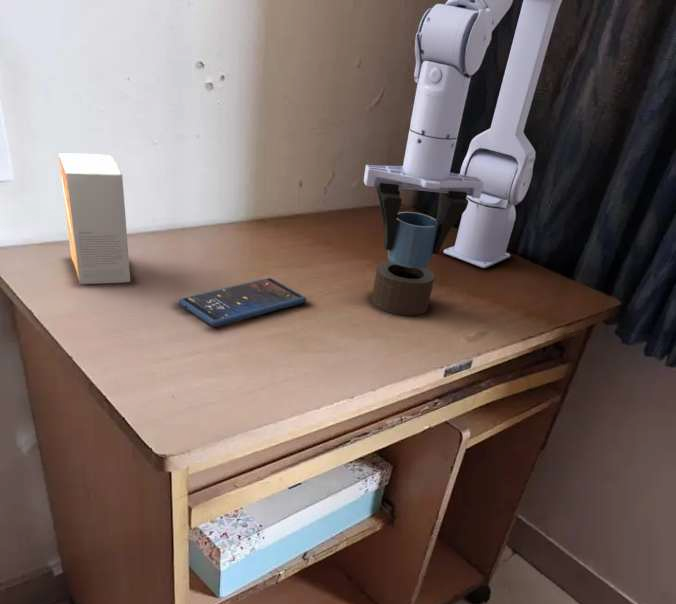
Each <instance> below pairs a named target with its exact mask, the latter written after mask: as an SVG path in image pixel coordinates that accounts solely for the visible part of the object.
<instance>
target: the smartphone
mask: <svg viewBox="0 0 676 604" xmlns="http://www.w3.org/2000/svg"><path fill="white" fill-rule="evenodd" d="M306 302H307V298H306V296H304V295H303V294H301V293H299V292H297V291H295V290H293V289H292V288H290V287H289V286H286V285H284V284H283V283H281V282H280V281H277V280H275V279H273V278H272V277H267V278H262V279H258V280H253V281H249V282H246V283H240V284H236V285H232V286H228V287H223V288H220V289H215V290H211V291H206V292H201V293H198V294H194V295H189V296H184V297H180V298H179V299H178V305H179V306H181V307H182V308H183V309H186V310H187V311H189V312H190V313H192V314H193V315H194V316H196V317H197V318H199V319H201V320H202V321H204V322H205V323H206V324H208V325H210V326H212V327H215V328H216V327H221V326H223V325H227V324H231V323H235V322H239V321H243V320H246V319H249V318H254V317H256V316H261V315H265V314H267V313H271V312H275V311H278V310H282V309H286V308H290V307H294V306H296V305H301V304H304V303H306Z"/></svg>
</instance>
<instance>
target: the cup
mask: <svg viewBox="0 0 676 604" xmlns="http://www.w3.org/2000/svg"><path fill="white" fill-rule="evenodd" d="M438 226H439V222H438V221H437V220H436V218H434V217H432V216H430V215H427V214H424V213H420V212H414V211H400V212H398V216H397V220H396V224H395V230H394V238H393V244H392V248H391V250H387V255H386V258H387V260H388V261H391V262H393V263H394V264H397V265H399V266H403V267H407V268H425V267H426V268H428V267H429V266H430V265H431V261H432V258H433V248H434V244H435V239H436V235H437V230H438Z"/></svg>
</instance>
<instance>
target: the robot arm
mask: <svg viewBox="0 0 676 604" xmlns="http://www.w3.org/2000/svg"><path fill="white" fill-rule="evenodd" d="M513 2H514V0H447V1H446V2H445V3H444V4H443V3H436V4H434V6H432V7H430V8H428V9H427V10H426V11H425V12H424V14H423V15H422V18H421V20H420V22H419V25H418V29H417V30H418V31H417V32H416V33H415V40H414V56H415V68H414V74H413V77H414V82H415V83H416V84H417V85H416V89H415V96H414V102H413V107H412V112H411V118H410V125H409V129H408V130H409V131H408V135H407V141H406V147H405V151H404V152H405V153H404V158H403V164H402V165H373V164H365V167H364V168H365V169H364V174H363V175H364V176H363V183H364V185H365V186H366V187H371V188H372V187H375V188H376V192H377V196H378V201H379V205H380V211H381V217H382V228H383V240H382V241H383V243H382V245H383V247H384V250H386V251H388V250H391V248H392V244H393V238H394V230H395V224H396V220H397V216H398V213H399V211H400V207H401V205H402V201H403V200H402V197H401V196H400V195H401V191H400V189H404V190H414V191H422V192H430V193H431V192H432V193H439V194H438V204H437V211H436V217H435V219H436V220H437V221H438V222H439V226H438V230H437V235H436V239H435V244H434V248H433V253H432V255H439V253H440V251H441V248H442V246H443V244H444V242H445V240H446V238H447V236H448V235H449V233H450V232H451V230H452V228H453V226H454V225H455V223H457V221H458V220H459V218H460V217H461V218H460V222H459V226H458V231H457V234H456V239H455V243H454V245H453V246H450V247H447V248H445V249H443V252H442V253H443V254H445V255H447V256H450V257H452V258H455V259H458V260H461V261H462V262H466V263H468V264H471V265H474V266H476V267H479V268H482V269H486V268H489V267H491V266H494V265H496V264H498V263H501V262H502V261H504V260H506V259H508V258H511V254H510V253H509V252H507V249H508V245H509V242H510V239H511V236H512V232H513V229H514V226H515V222H516V219H517V218H516V217H517V212H516V207H515V206H517V205H518V204H519V203H522V201H523V200H524V198H525V197H526V195H527V192H528V190H529V188H530V185H531V181H532V178H533V170H534V169H533V168H534V163H535V161H536V150H535V148H534V147H533V145H532V143H531V142H530V140H529V139H528V138H527V136H526V134H525V132H524V131H525V127H526V124H527V120H528V116H529V113H530V110H531V106H532V102H533V100H534V95H535V92H536V89H537V85H538V81H539V78H540V74H541V71H542V68H543V63H544V60H545V56H546V54H547V49H548V47H549V43H550V39H551V37H552V33H553V30H554V29H553V28H554V24H555V22H556V19H557V16H558V12H559V9H560V7H561V4H562V2H563V0H523V1H522V3H521V8H520V13H519V16H518V20H517V24H516V28H515V30H514V35H513V39H512V44H511V46H510V51H509V55H508V59H507V62H506V67H505V70H504V74H503V78H502V82H501V86H500V90H499V94H498V97H497V101H496V105H495V109H494V112H493V113H494V114H493V116H492V120H491V125H490V127H489V128H488V129H485V130H484V131H482V132H481V133H479V134H477V135H475V136H474V137H473V138H471V141H470V143H469V146H468V150H467V153H466V155H465V157H464V159H463V162H462V164H461V166H460V171H459V173H455V172H451V170H452V169H451V168H452V165H453V159H454V155H455V150H456V147H457V141H458V137H459V132H460V128H461V123H462V119H463V113H464V111H465V110H464V109H465V105H466V102H467V101H466V100H467V97H468V91H469V89H470V88H469V86H470V82H471V77H472V76H473V75H474V74H475V73H476V72H477V71H479V69H480V67H481V65H482V63H483V60H484V58H485V55H486V51H487V49H488V47H489V45H490V43H491V41H492V34H493V31H494V30H495V28H496V27H497V26H498V24H499V23H500V22H501V20H502V19H503V18H504V16H505V15H506V14H507V12H508V11H509V10H510V8H511V7H512V5H513Z"/></svg>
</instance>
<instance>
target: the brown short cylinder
mask: <svg viewBox="0 0 676 604" xmlns="http://www.w3.org/2000/svg"><path fill="white" fill-rule="evenodd" d="M434 281H435V274H434V272H433V271H432V270H431V269H429V268H428V267H425V268H407V267H403V266H399V265H397V264H394V263H393V262H391V261H390V260H384V261H381V262H380V263H378V264H377V266H376V271H375V277H374V283H373V289H372V294H371V296H372V297H371V301H372V304H374V306H375V307H377V308H378V309H380V310H382V311H384V312H386V313H389V314H393V315H396V316H397V315H398V316H405V317H406V316H407V317H411V316H419V315H422V314H424V313H426V311H428V307H429V303H430V300H431V295H432V290H433V286H434Z"/></svg>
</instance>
